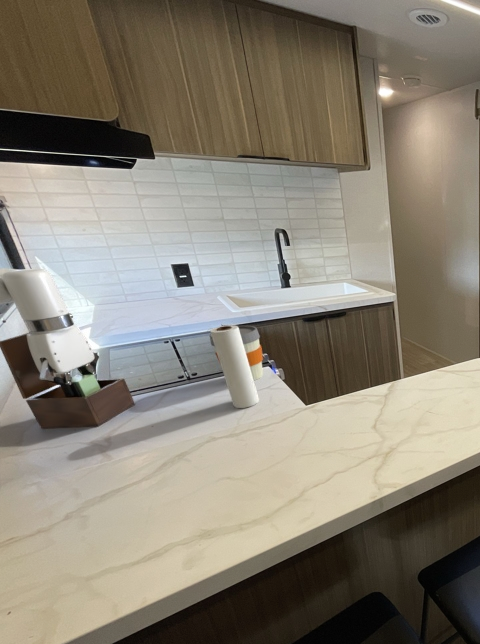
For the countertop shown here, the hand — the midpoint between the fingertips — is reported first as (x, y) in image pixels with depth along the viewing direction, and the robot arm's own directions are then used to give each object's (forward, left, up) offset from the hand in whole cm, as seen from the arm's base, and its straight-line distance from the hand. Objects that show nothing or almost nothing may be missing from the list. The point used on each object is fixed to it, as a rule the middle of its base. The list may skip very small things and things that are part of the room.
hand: (83, 392), depth 101 cm
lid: (-3, +6, +9) cm, 11 cm away
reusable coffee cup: (+32, -15, -7) cm, 36 cm away
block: (0, 0, 0) cm, 0 cm away
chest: (0, +1, -7) cm, 7 cm away
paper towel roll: (+20, -31, -7) cm, 37 cm away
